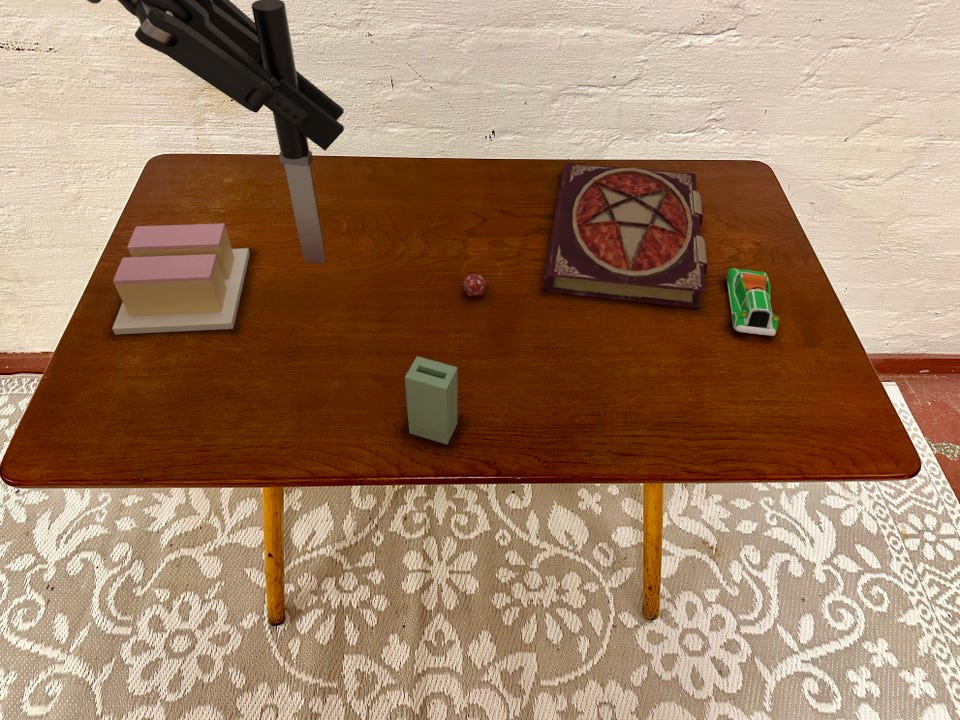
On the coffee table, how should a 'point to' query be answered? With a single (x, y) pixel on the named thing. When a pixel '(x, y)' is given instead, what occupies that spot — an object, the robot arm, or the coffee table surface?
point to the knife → (290, 127)
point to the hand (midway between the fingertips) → (334, 129)
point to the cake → (179, 280)
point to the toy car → (751, 302)
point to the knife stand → (432, 399)
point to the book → (627, 236)
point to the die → (474, 284)
